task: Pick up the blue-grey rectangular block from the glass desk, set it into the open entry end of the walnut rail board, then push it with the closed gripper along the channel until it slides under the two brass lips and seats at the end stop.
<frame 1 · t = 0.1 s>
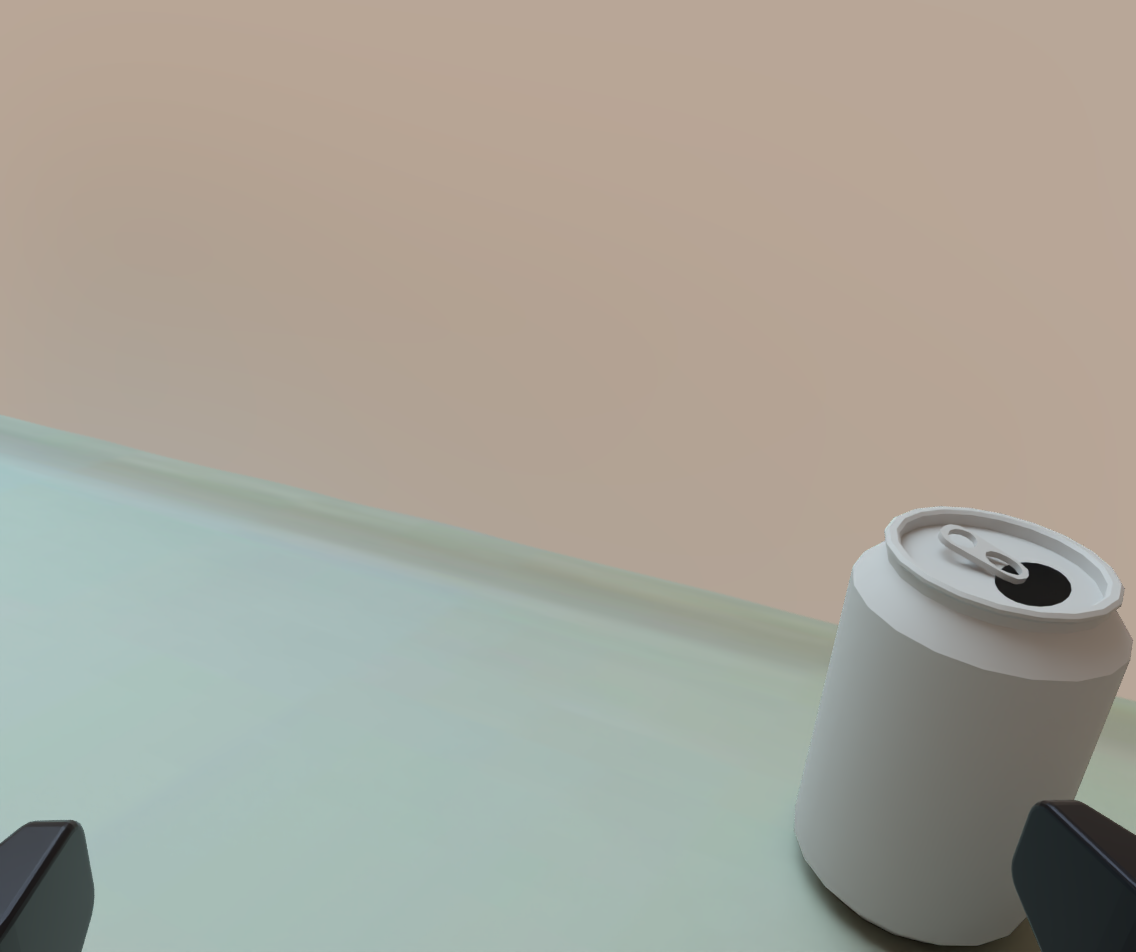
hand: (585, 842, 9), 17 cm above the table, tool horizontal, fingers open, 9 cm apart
can: (901, 870, 31), on the table
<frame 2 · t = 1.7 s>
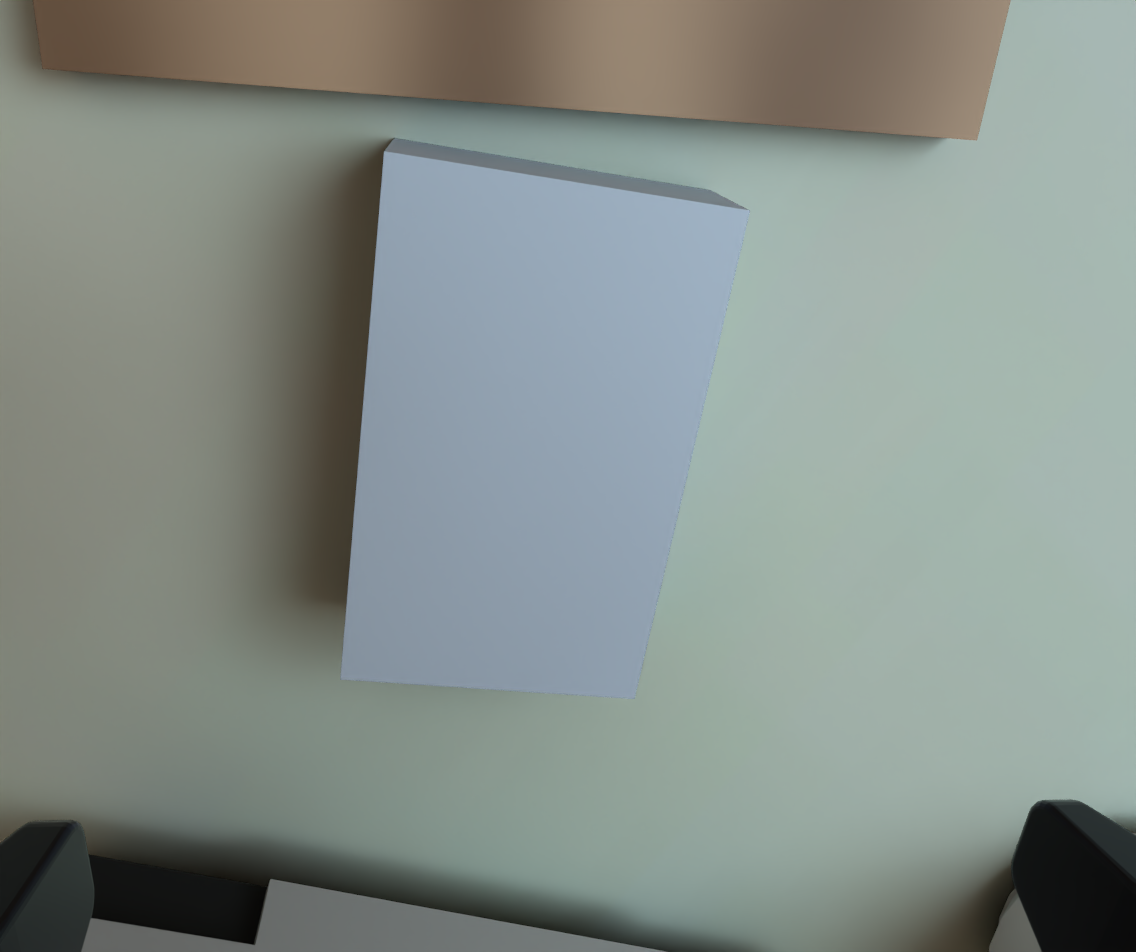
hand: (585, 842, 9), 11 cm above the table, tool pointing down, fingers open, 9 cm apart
can: (1089, 900, 28), on the table
blue-grey rectangular block: (517, 408, 19), on the table
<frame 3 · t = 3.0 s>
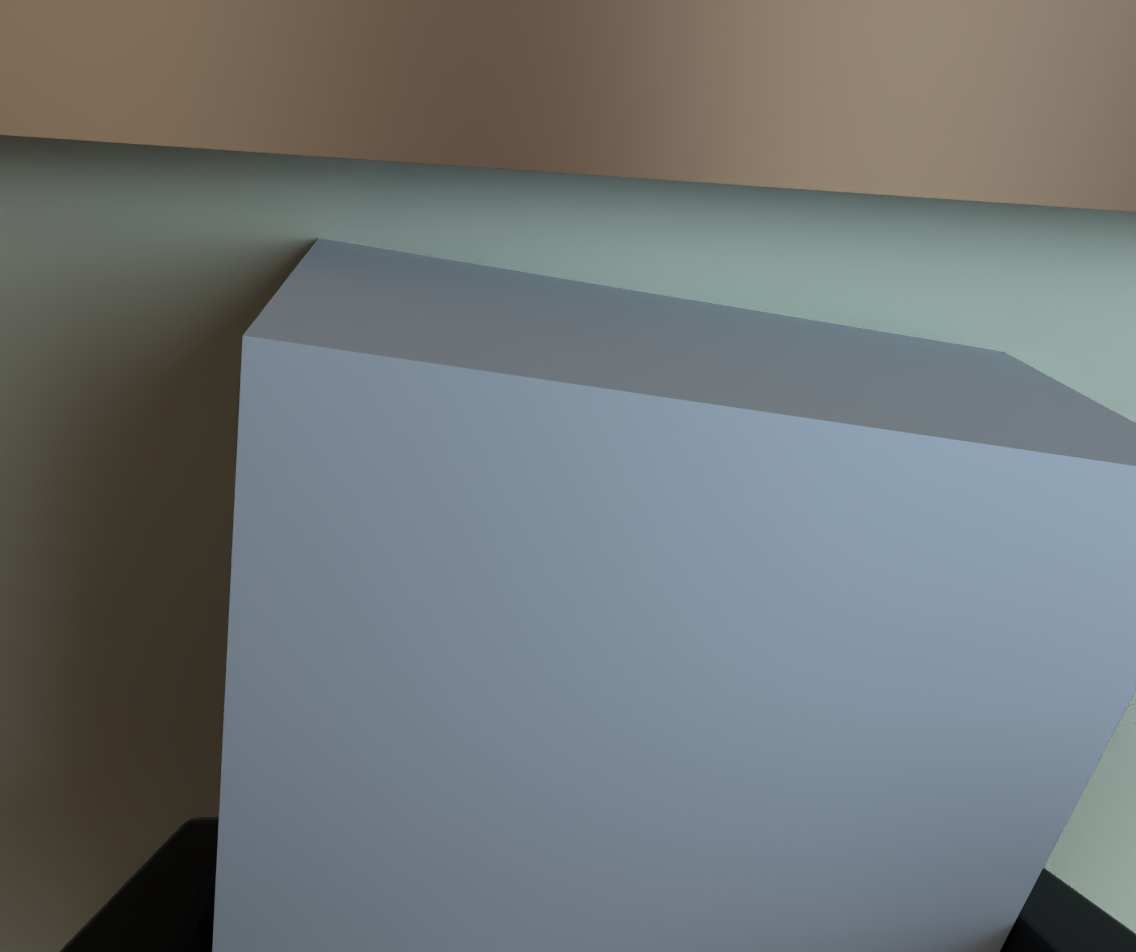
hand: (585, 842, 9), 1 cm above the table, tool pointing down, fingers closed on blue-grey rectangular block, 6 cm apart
blue-grey rectangular block: (570, 750, 10), on the table, touching gripper
when the fingers open (3 cm above the table, at t = 6.3 s): blue-grey rectangular block stays where it is, resting on board.
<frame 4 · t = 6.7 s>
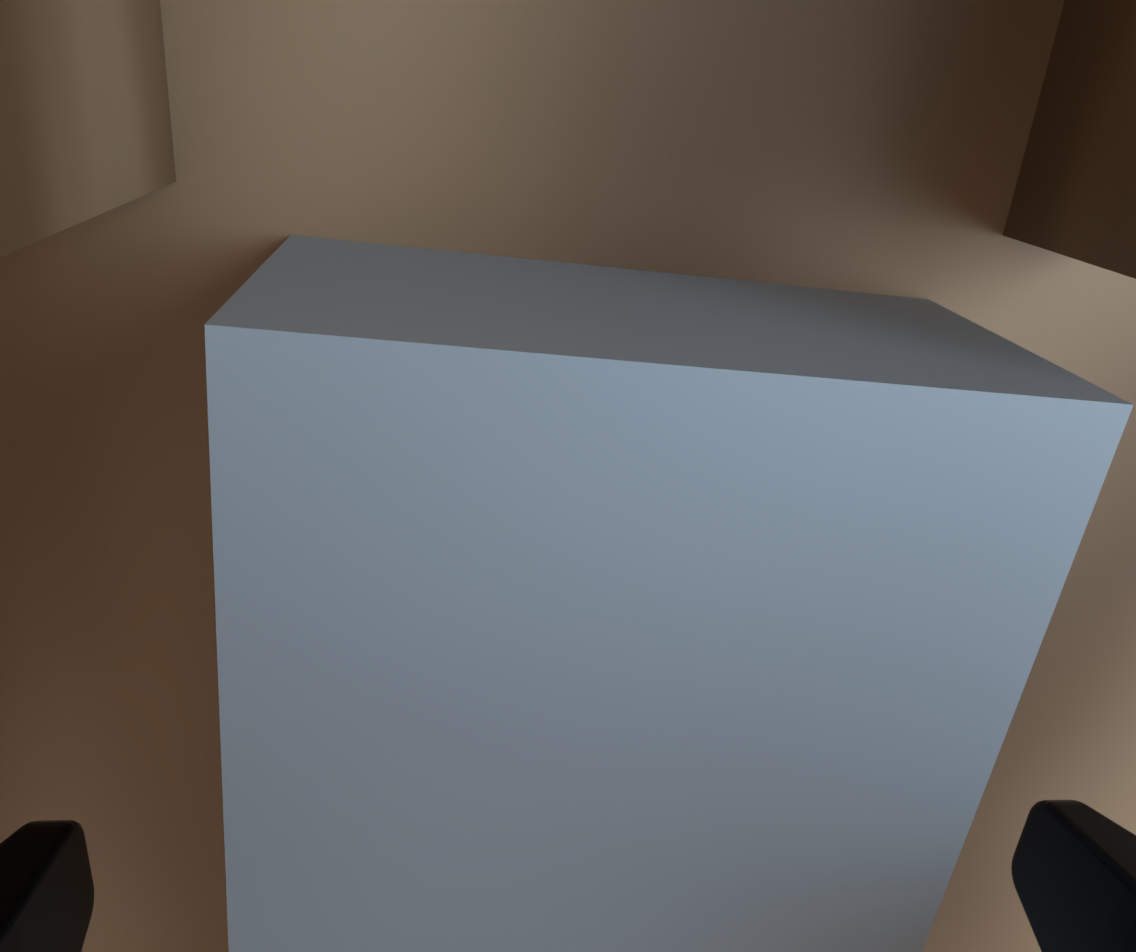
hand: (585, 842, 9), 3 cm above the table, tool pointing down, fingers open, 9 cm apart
blue-grey rectangular block: (562, 707, 10), point 1 cm above the table, touching board
board: (603, 141, 9), on the table
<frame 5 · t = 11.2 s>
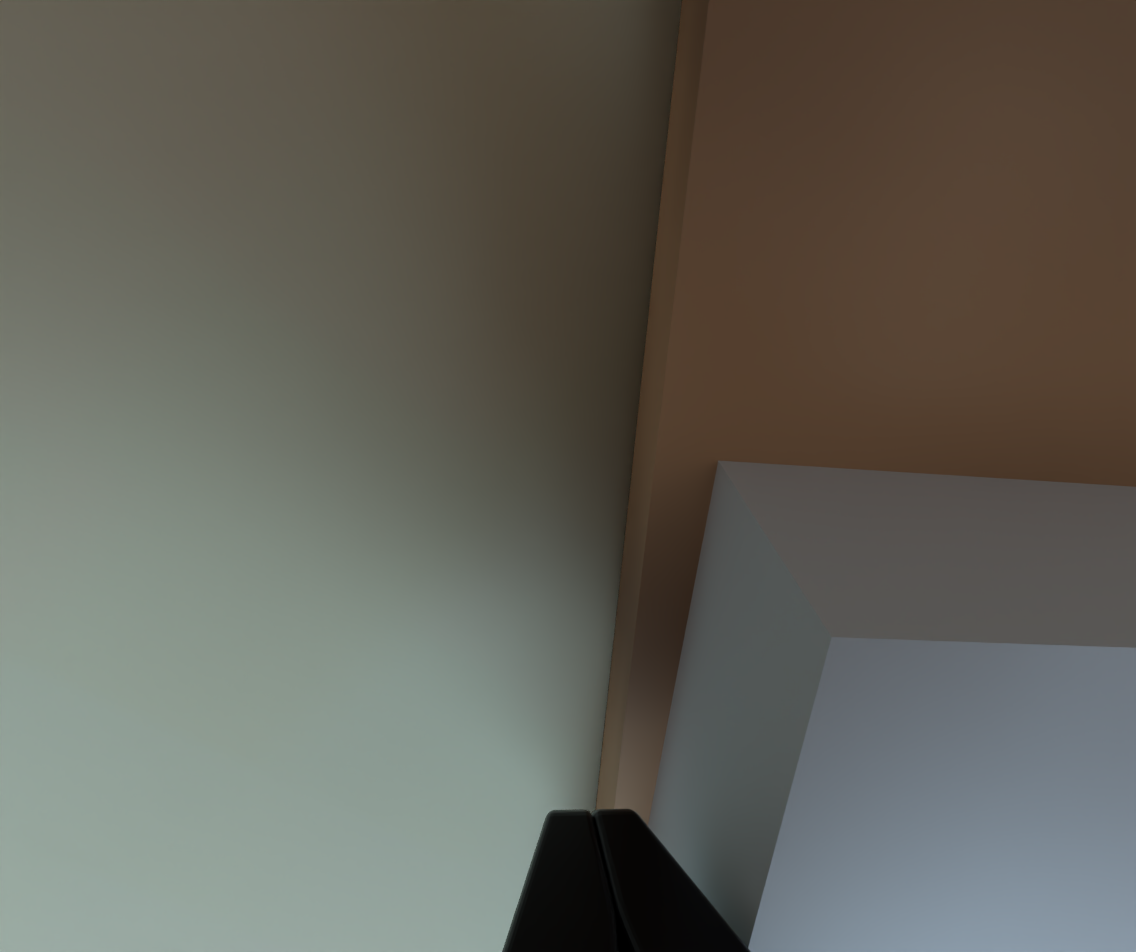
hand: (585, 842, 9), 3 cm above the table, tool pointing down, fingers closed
blue-grey rectangular block: (1083, 720, 11), point 1 cm above the table, touching gripper
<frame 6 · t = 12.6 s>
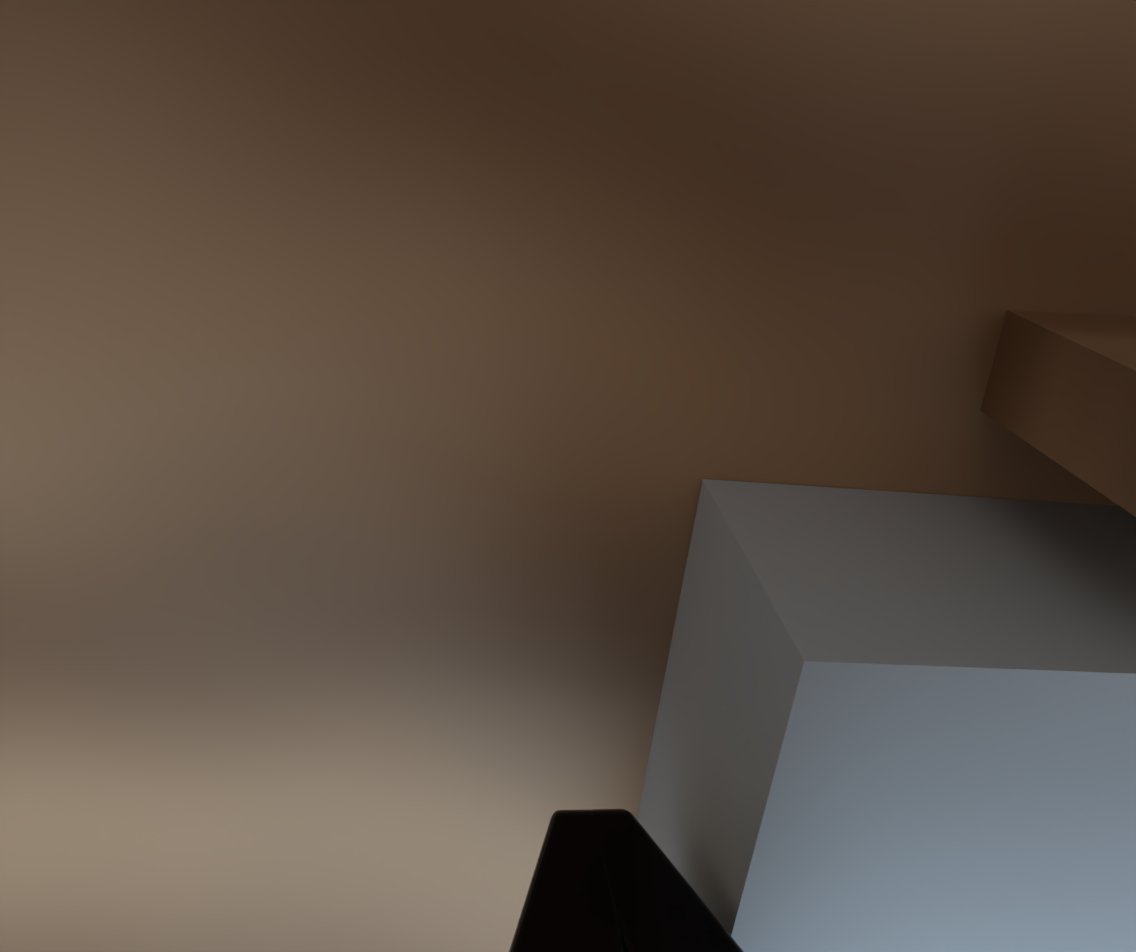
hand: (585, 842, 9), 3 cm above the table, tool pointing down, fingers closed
blue-grey rectangular block: (1065, 734, 11), point 1 cm above the table, touching board, gripper
board: (902, 664, 12), on the table
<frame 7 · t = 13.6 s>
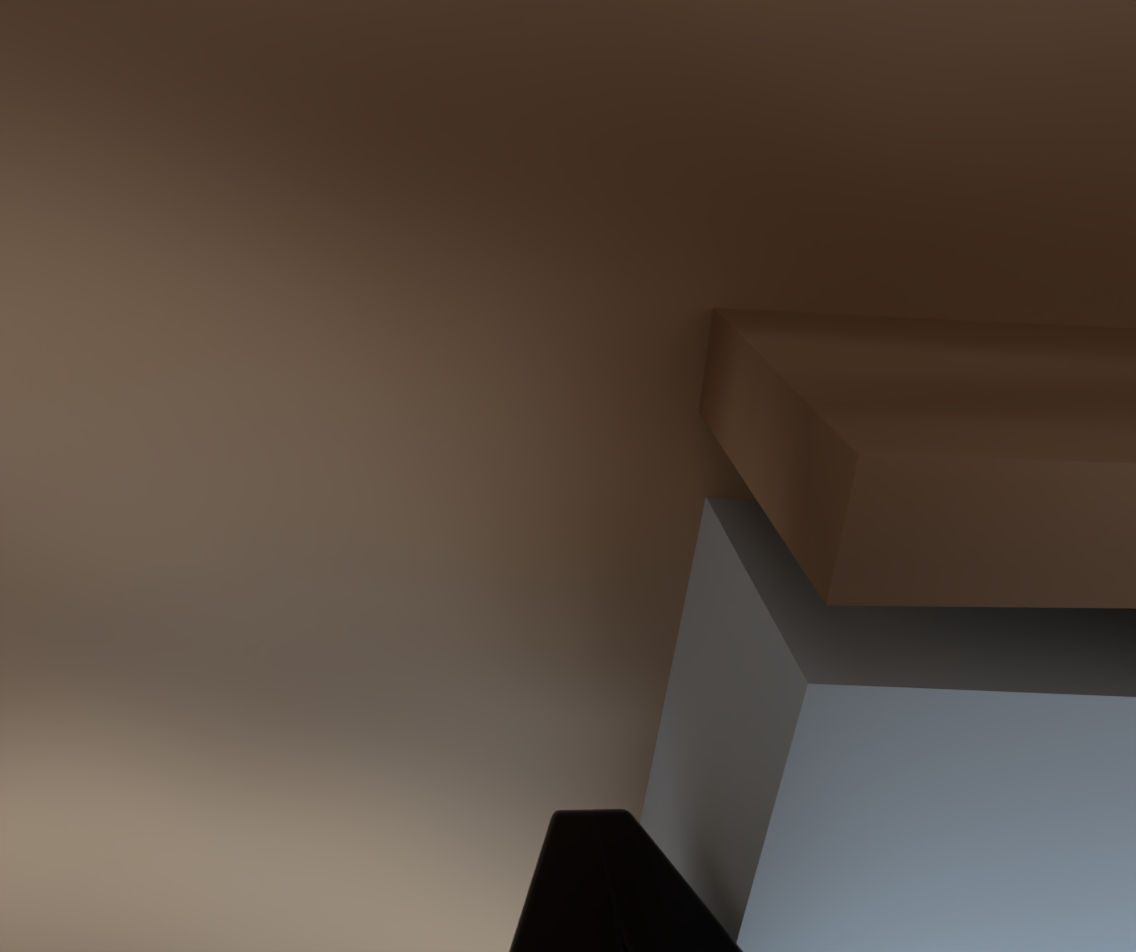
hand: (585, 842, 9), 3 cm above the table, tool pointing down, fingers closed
blue-grey rectangular block: (1065, 751, 11), point 1 cm above the table, touching board, gripper
board: (679, 674, 11), on the table
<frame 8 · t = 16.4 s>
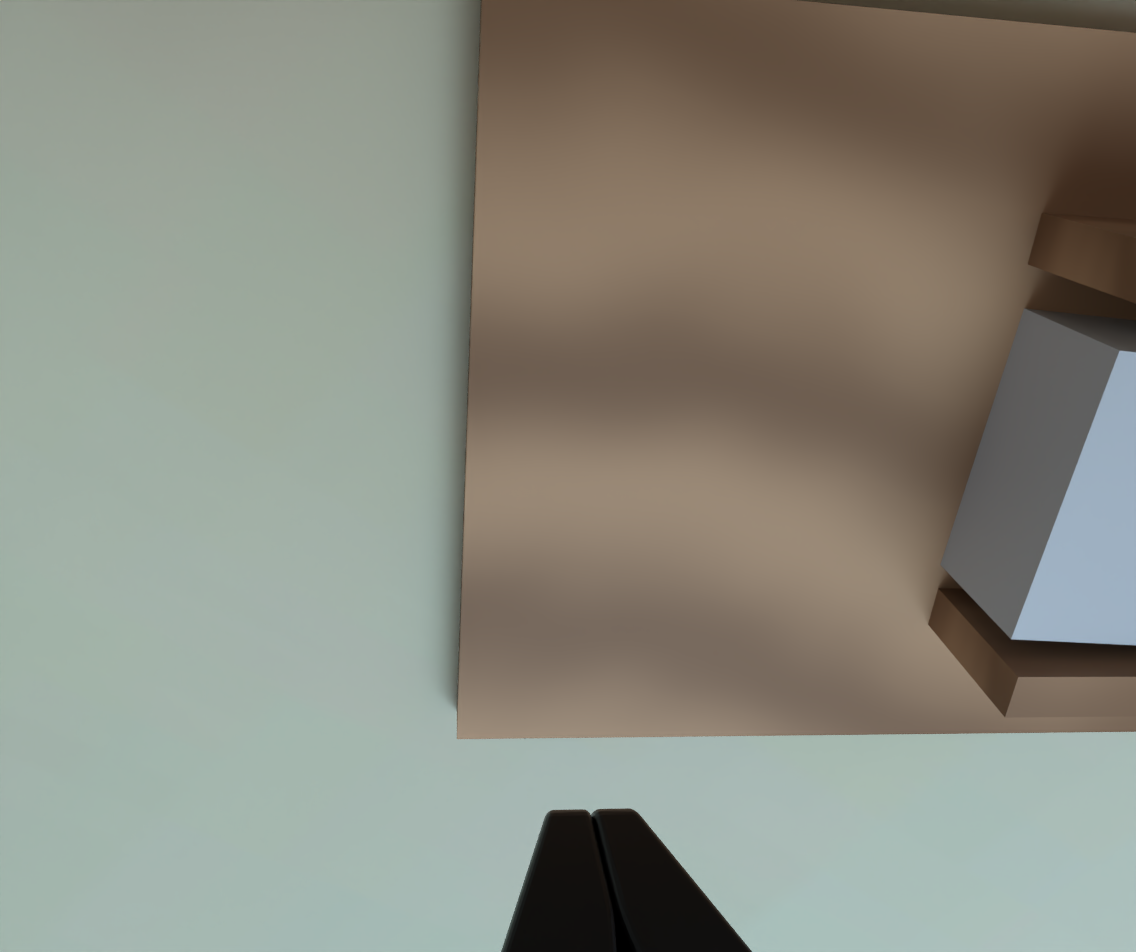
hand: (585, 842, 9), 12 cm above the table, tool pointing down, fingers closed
board: (977, 422, 21), on the table
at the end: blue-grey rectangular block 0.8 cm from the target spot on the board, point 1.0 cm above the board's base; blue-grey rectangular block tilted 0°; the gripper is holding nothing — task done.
